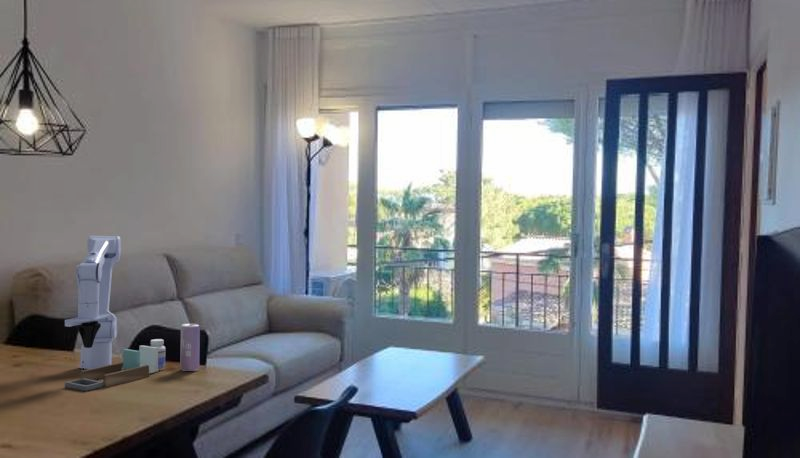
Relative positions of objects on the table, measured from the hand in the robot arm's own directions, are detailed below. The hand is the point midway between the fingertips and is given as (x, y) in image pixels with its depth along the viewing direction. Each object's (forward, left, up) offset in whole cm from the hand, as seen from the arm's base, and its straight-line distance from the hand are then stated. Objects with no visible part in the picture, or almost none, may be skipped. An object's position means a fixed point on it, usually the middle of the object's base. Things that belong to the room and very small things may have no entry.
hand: (88, 347), depth 200 cm
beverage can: (+15, +27, -11) cm, 33 cm away
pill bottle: (+5, +22, -11) cm, 25 cm away
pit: (+5, -5, -10) cm, 13 cm away
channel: (+5, +6, -10) cm, 13 cm away
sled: (+5, +15, -10) cm, 19 cm away
